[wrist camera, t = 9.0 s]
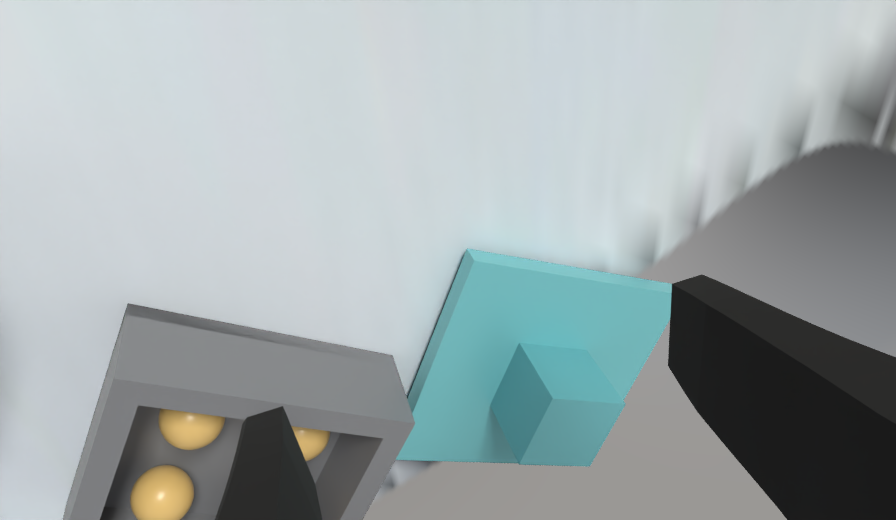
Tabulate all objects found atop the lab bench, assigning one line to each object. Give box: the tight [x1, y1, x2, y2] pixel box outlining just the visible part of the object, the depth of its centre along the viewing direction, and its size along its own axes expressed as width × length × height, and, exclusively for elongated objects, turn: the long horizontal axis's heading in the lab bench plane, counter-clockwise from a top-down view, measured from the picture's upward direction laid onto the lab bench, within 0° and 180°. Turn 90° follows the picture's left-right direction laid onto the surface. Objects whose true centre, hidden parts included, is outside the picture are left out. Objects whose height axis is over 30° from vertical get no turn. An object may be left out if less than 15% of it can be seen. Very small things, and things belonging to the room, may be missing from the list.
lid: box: [396, 249, 672, 466], centre depth 25 cm, size 9×9×4 cm
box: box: [63, 304, 415, 520], centre depth 23 cm, size 9×9×4 cm
